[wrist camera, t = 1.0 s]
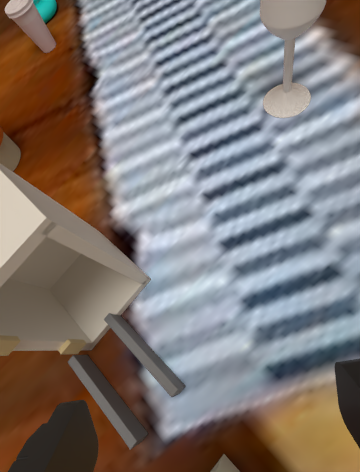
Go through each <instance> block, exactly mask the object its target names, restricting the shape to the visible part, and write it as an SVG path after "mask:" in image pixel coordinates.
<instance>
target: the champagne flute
mask: <svg viewBox="0 0 360 472" xmlns="http://www.w3.org/2000/svg"><path fill="white" fill-rule="evenodd" d="M325 4H326V0H261V2H260V17H261V20H262V23H263V24H264V26H265V27H266V28H267V30H268V31H269V32H270V33H272V34H273V35H275V36H277V37H279V38H281V39H283V40H285V47H284V70H283V84H281V85H278V86H276V87H274V88H272V89H271V90H270V91H269V92H268V93H267V94H266V95H265V97H264V100H263V106H264V109H265V110H266V112H267V113H269V114H270V115H272V116H275V117H279V118H286V117H292V116H295V115H297V114H299V113H301V112H302V111H303V110H305V109H306V107H307V106H308V105H309V103H310V99H311V95H310V92H309V90H308V89H307V88H306V87H305V86H303V85H301V84H297V83H292V73H293V60H294V47H295V38H297V37H298V36H299V35H301V34H302V33H303V32H305V31H306V30H307V29H308V28H310V27H311V26H312V24H313V23H314V22H315V21H316V20H317V18H318V17H319V16H320V14H321V13H322V11H323V9H324V6H325Z"/></svg>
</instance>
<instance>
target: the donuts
mask: <svg viewBox="0 0 360 472" xmlns="http://www.w3.org/2000/svg"><path fill="white" fill-rule="evenodd" d="M33 3H34V5H35V7H36V8H37V10H38V12H39V14H40V15H41V17H42V19H43V21H44V23H47V22H48V21H49V20H50V19H51V18H52V17H53V16H54V14H55V12H56V9H57V4H56V1H55V0H33Z"/></svg>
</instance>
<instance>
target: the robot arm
mask: <svg viewBox="0 0 360 472" xmlns="http://www.w3.org/2000/svg"><path fill="white" fill-rule="evenodd" d="M335 375H336V385H337V394H338V403H339V409H340V412H341V415H342V418H343V420H344V423H345V425H346V427H347V429H348V430H349V432H350V434H351V435H352V437H353V438H354V440H355V442H356V443H357V445H358V446H359V448H360V359H355V360H348V361H342V362H336V363H335ZM97 457H98V438H97V434H96V431H95V428H94V425H93V422H92V418H91V415H90V412H89V409H88V406H87V403H86V402H85V401H84V400H78V401H71V402H65V403H60V404H59V405H58V406H57V407H56V409H55V411H54V412H53V414H52V416H51V418H50V419H49V421H48V423H46V424H42V425H41V426H40V427H39V428H38V429H37V430H36V431H35V433H34V434H33V435H32V436H31V437H30V438H29V439H28V440H27V441H26V443H25V445H24V446H23V448H22V450H21V451H20V453H19V454H18V456H17V460H16V461H14V463H13V464H12V466H11V467H10V469H9V471H8V472H93V470H94V467H95V464H96V461H97Z"/></svg>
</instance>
